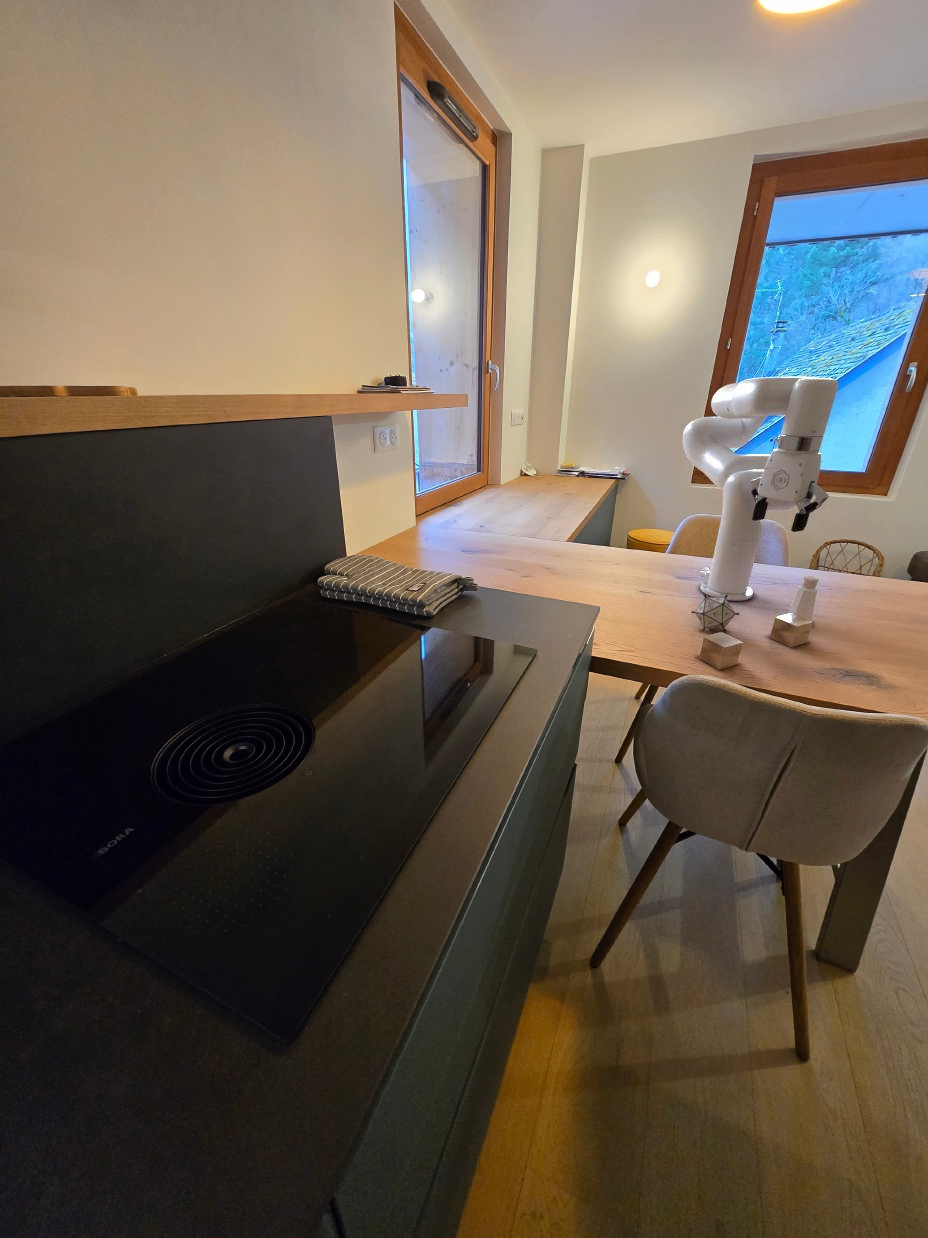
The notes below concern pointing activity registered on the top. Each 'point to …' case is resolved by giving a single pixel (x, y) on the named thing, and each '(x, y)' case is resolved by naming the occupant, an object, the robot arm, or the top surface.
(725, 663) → the maple block
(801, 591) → the salt shaker
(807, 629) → the maple block
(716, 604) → the clear faceted polyhedron
